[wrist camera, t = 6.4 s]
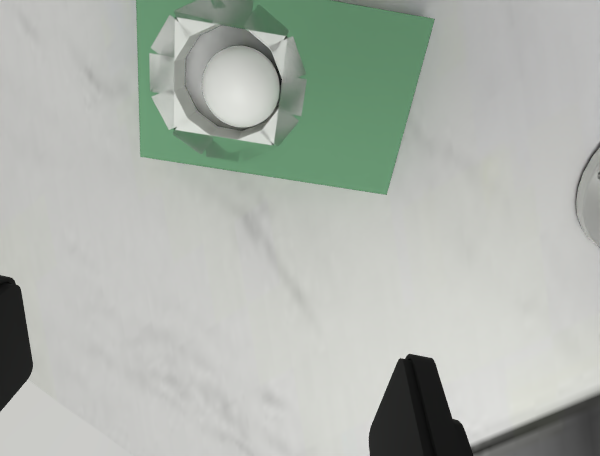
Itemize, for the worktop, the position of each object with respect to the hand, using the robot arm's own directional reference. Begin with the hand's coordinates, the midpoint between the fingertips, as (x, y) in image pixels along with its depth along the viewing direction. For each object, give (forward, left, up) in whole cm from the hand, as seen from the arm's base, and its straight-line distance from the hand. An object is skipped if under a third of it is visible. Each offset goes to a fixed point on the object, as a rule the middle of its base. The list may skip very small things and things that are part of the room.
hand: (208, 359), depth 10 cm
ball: (+2, -3, -19) cm, 19 cm away
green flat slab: (0, -3, -21) cm, 22 cm away
